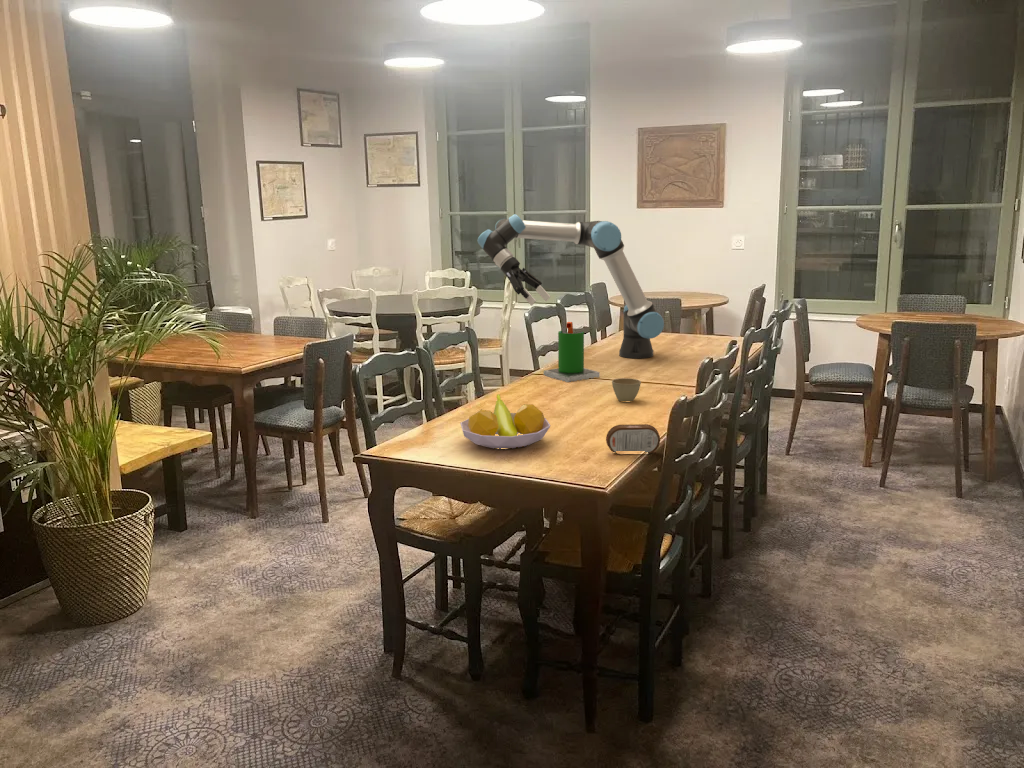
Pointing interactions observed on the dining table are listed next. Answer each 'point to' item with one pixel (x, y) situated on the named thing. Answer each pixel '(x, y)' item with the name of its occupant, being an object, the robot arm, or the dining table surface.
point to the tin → (633, 438)
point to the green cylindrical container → (570, 351)
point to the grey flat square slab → (571, 375)
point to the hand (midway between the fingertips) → (541, 301)
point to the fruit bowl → (506, 426)
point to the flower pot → (626, 388)
